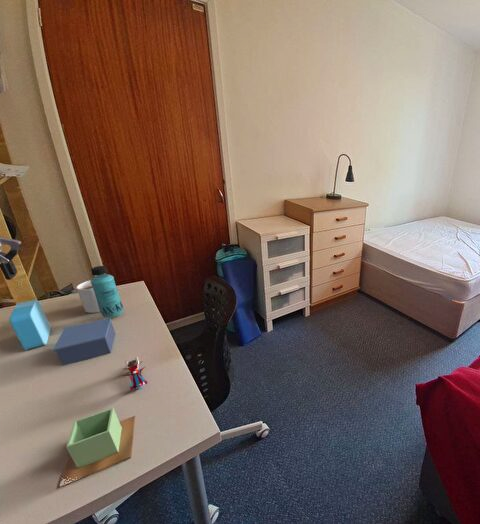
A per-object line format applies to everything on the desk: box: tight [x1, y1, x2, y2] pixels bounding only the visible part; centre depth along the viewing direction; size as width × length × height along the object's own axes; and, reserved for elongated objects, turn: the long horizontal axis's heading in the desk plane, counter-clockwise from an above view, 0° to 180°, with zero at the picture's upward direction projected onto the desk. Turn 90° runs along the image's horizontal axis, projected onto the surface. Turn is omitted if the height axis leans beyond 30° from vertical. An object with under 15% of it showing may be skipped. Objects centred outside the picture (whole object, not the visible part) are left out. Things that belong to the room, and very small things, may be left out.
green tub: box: [65, 407, 122, 469], centre depth 58 cm, size 6×6×6 cm
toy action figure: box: [122, 356, 149, 392], centre depth 76 cm, size 5×12×6 cm, turn 42°
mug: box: [76, 279, 101, 314], centre depth 107 cm, size 11×10×10 cm
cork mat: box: [60, 415, 136, 484], centre depth 60 cm, size 11×11×1 cm
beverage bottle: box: [89, 265, 124, 319], centre depth 100 cm, size 6×7×20 cm
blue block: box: [52, 317, 116, 367], centre depth 87 cm, size 11×11×6 cm
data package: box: [8, 299, 51, 351], centre depth 88 cm, size 12×4×12 cm, turn 39°
